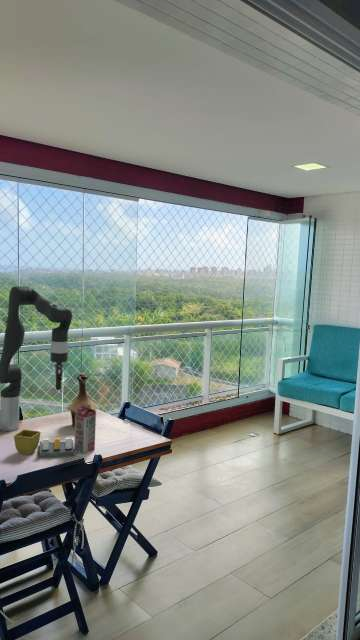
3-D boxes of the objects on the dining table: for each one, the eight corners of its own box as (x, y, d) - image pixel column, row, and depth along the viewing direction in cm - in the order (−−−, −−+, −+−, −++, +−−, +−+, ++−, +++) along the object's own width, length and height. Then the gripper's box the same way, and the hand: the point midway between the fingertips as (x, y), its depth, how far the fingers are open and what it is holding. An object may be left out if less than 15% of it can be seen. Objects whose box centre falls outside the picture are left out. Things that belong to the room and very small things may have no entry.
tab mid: (54, 449, 220) (54, 439, 219) (54, 447, 222) (54, 438, 221) (60, 448, 220) (60, 439, 220) (59, 447, 222) (60, 437, 222)
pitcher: (62, 421, 268) (64, 371, 265) (93, 419, 275) (95, 370, 272) (69, 431, 252) (71, 378, 249) (102, 428, 259) (103, 376, 257)
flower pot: (31, 457, 216) (31, 437, 215) (13, 455, 217) (13, 435, 217) (40, 450, 224) (41, 431, 223) (23, 448, 226) (23, 429, 225)
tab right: (65, 448, 221) (65, 439, 221) (65, 447, 223) (65, 437, 223) (71, 448, 222) (71, 438, 221) (71, 446, 224) (71, 437, 223)
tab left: (42, 449, 218) (42, 439, 218) (42, 448, 220) (42, 438, 220) (48, 449, 219) (48, 439, 219) (48, 447, 221) (48, 438, 221)
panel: (39, 457, 216) (39, 452, 215) (40, 445, 231) (40, 440, 231) (74, 456, 219) (74, 451, 219) (72, 443, 235) (72, 439, 235)
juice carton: (85, 446, 232) (86, 401, 230) (94, 450, 228) (96, 403, 226) (74, 449, 227) (75, 403, 225) (83, 453, 223) (84, 406, 221)
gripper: (50, 348, 227) (49, 385, 228) (50, 353, 213) (49, 392, 215) (67, 348, 229) (66, 384, 230) (68, 353, 215) (67, 392, 217)
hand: (58, 388), depth 222 cm, fingers open, 3 cm apart
